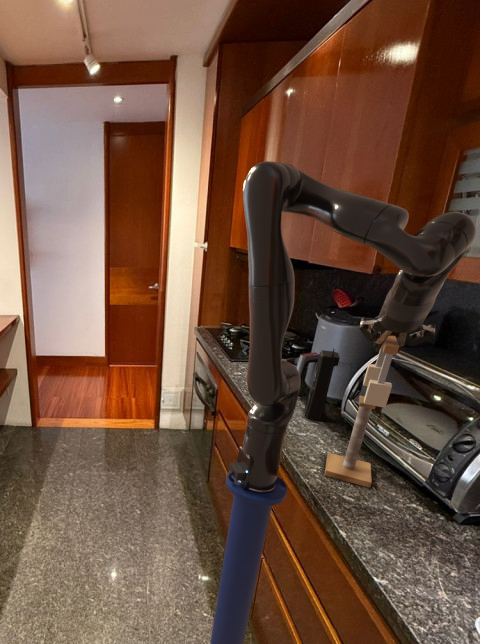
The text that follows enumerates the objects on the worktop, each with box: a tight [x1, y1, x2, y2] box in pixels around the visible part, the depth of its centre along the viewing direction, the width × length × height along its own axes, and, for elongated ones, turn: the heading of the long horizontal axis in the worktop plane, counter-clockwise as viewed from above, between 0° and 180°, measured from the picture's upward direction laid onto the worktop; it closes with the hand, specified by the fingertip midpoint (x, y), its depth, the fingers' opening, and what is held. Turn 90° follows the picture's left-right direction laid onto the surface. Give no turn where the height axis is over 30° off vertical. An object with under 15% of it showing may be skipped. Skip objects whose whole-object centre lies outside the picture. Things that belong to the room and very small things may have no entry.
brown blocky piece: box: [362, 336, 399, 409], centre depth 90 cm, size 4×15×14 cm, turn 148°
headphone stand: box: [324, 395, 377, 489], centre depth 99 cm, size 10×10×21 cm
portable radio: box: [303, 348, 341, 422], centre depth 129 cm, size 8×6×25 cm
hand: (385, 348), depth 90 cm, fingers closed on brown blocky piece, 2 cm apart
